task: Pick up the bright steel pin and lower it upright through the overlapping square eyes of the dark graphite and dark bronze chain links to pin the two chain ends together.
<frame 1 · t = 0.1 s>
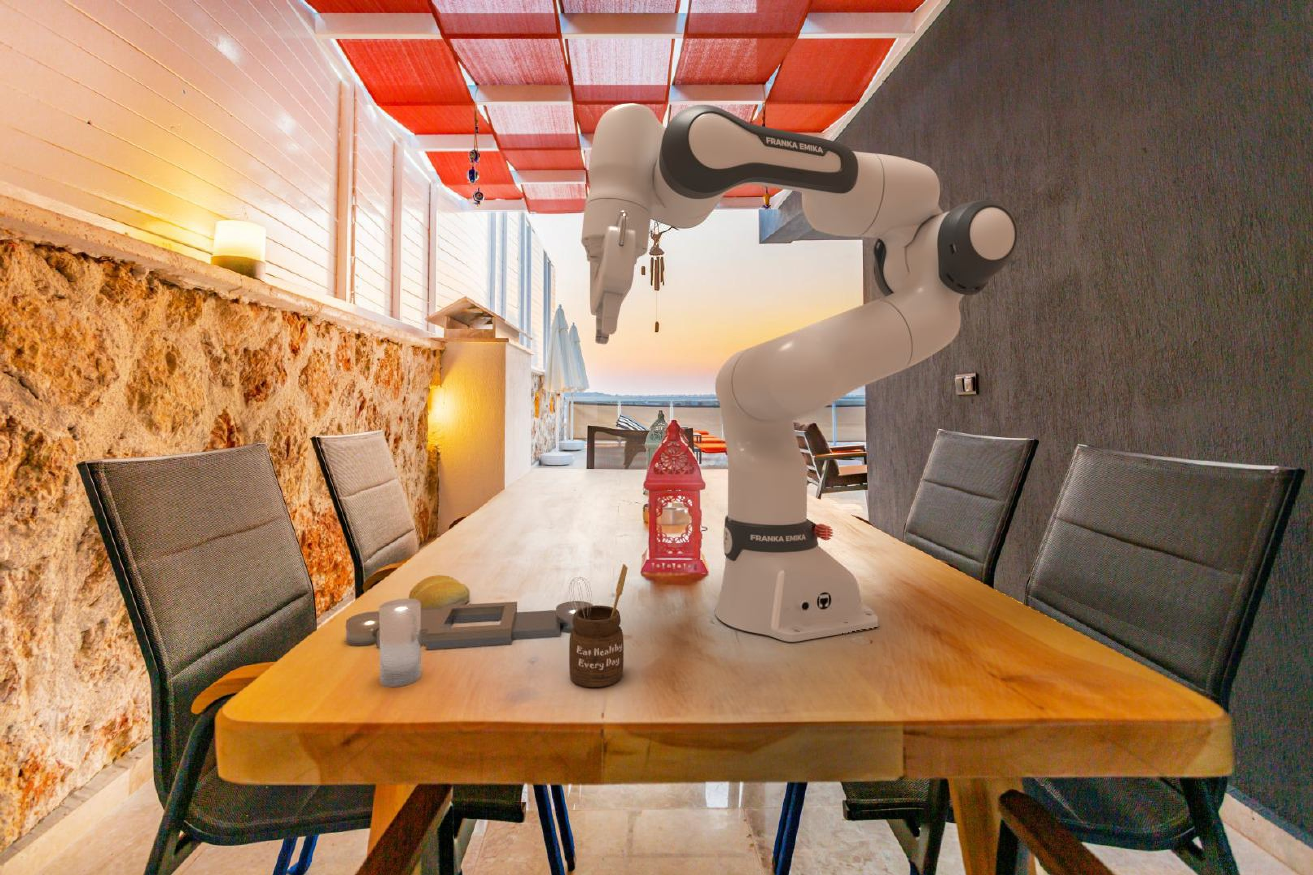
hand: (604, 338, 72), 39 cm above the table, tool pointing down, fingers open, 8 cm apart
bread roll: (439, 605, 82), on the table
lower chain link: (475, 631, 71), on the table
utensil holder: (597, 677, 59), on the table
upper chain link: (475, 631, 71), on the table
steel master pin: (400, 677, 59), on the table
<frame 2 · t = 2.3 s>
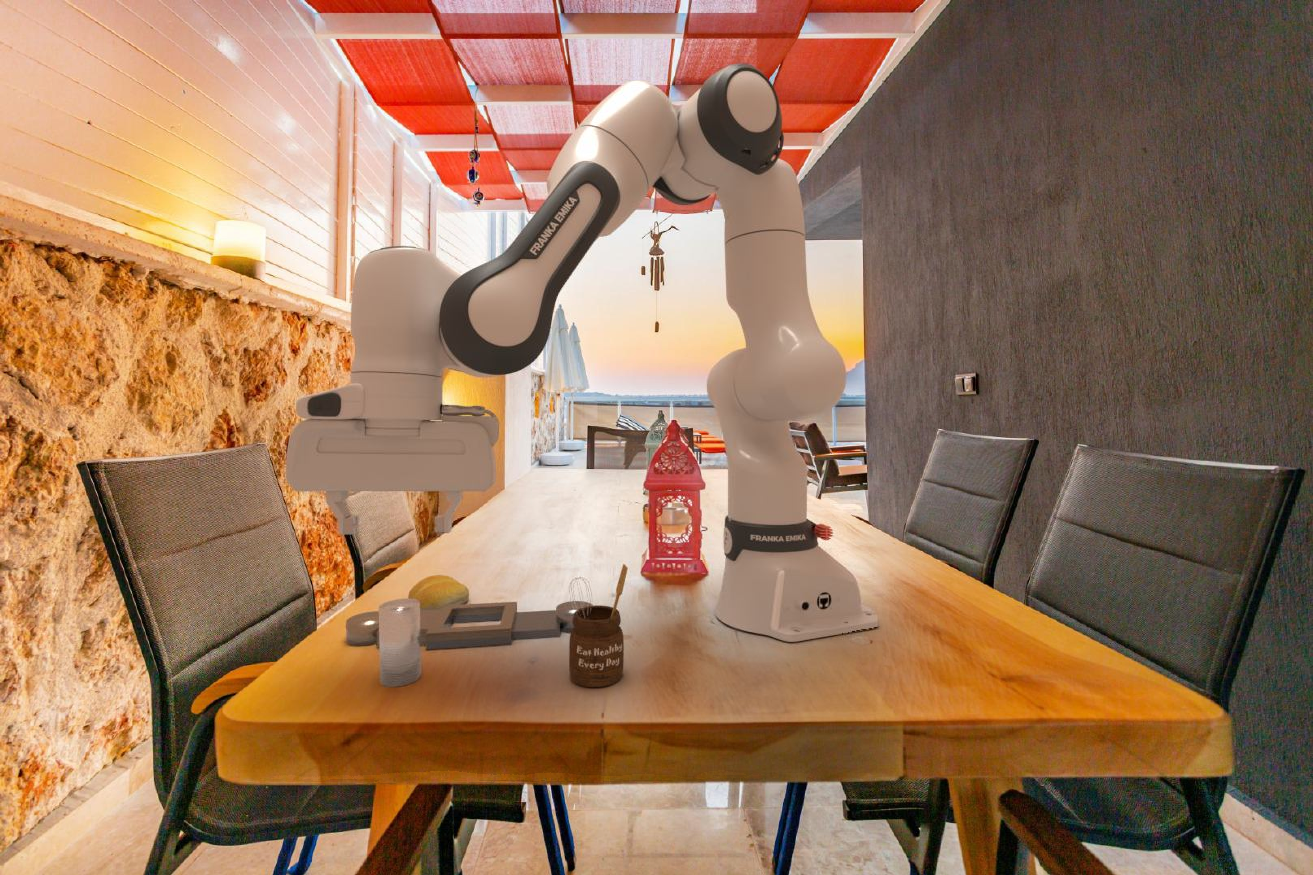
hand: (396, 532, 58), 16 cm above the table, tool pointing down, fingers open, 8 cm apart
nothing on the table moved.
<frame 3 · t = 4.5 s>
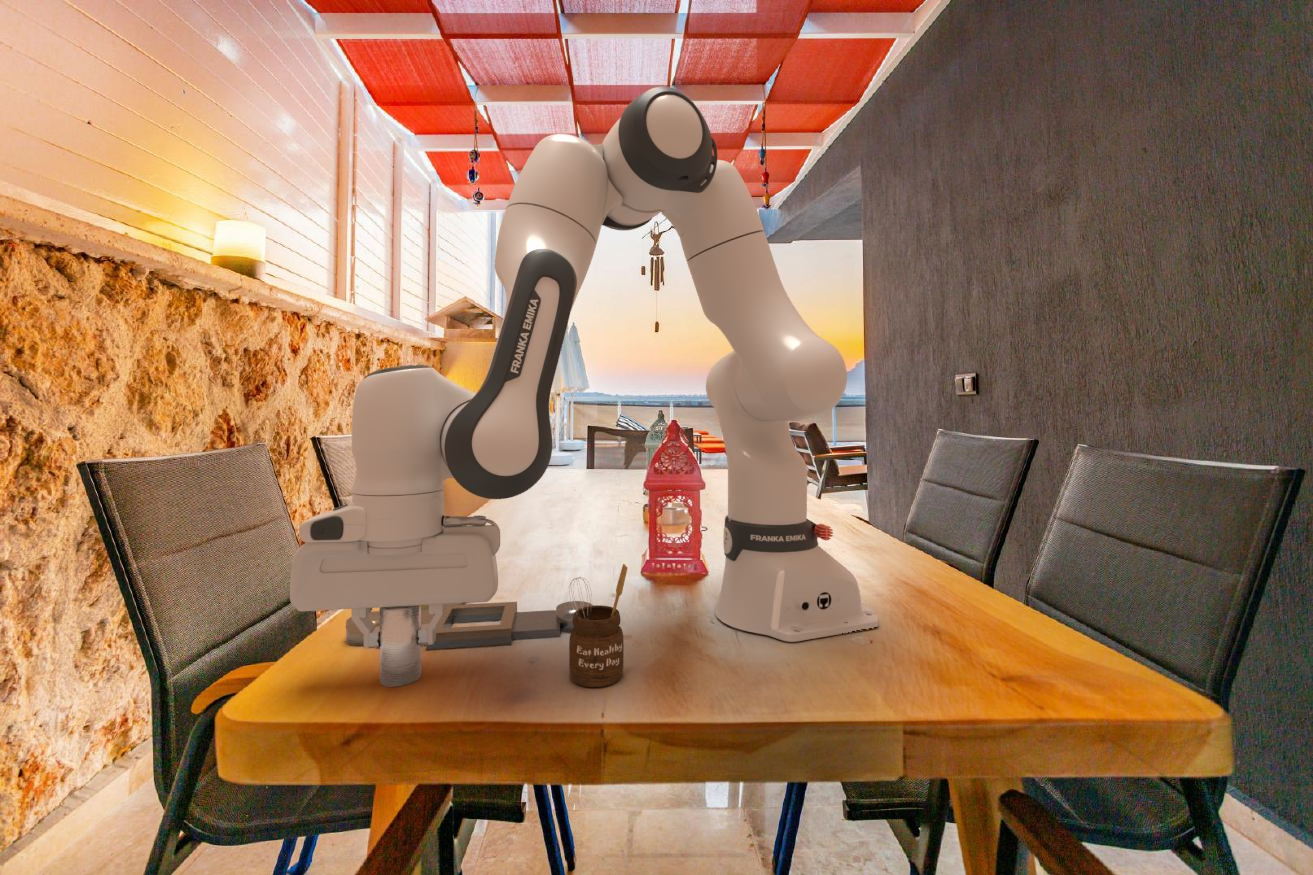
hand: (400, 644, 58), 4 cm above the table, tool pointing down, fingers closed on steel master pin, 4 cm apart
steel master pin: (400, 677, 59), on the table, touching gripper
everything else where it was.
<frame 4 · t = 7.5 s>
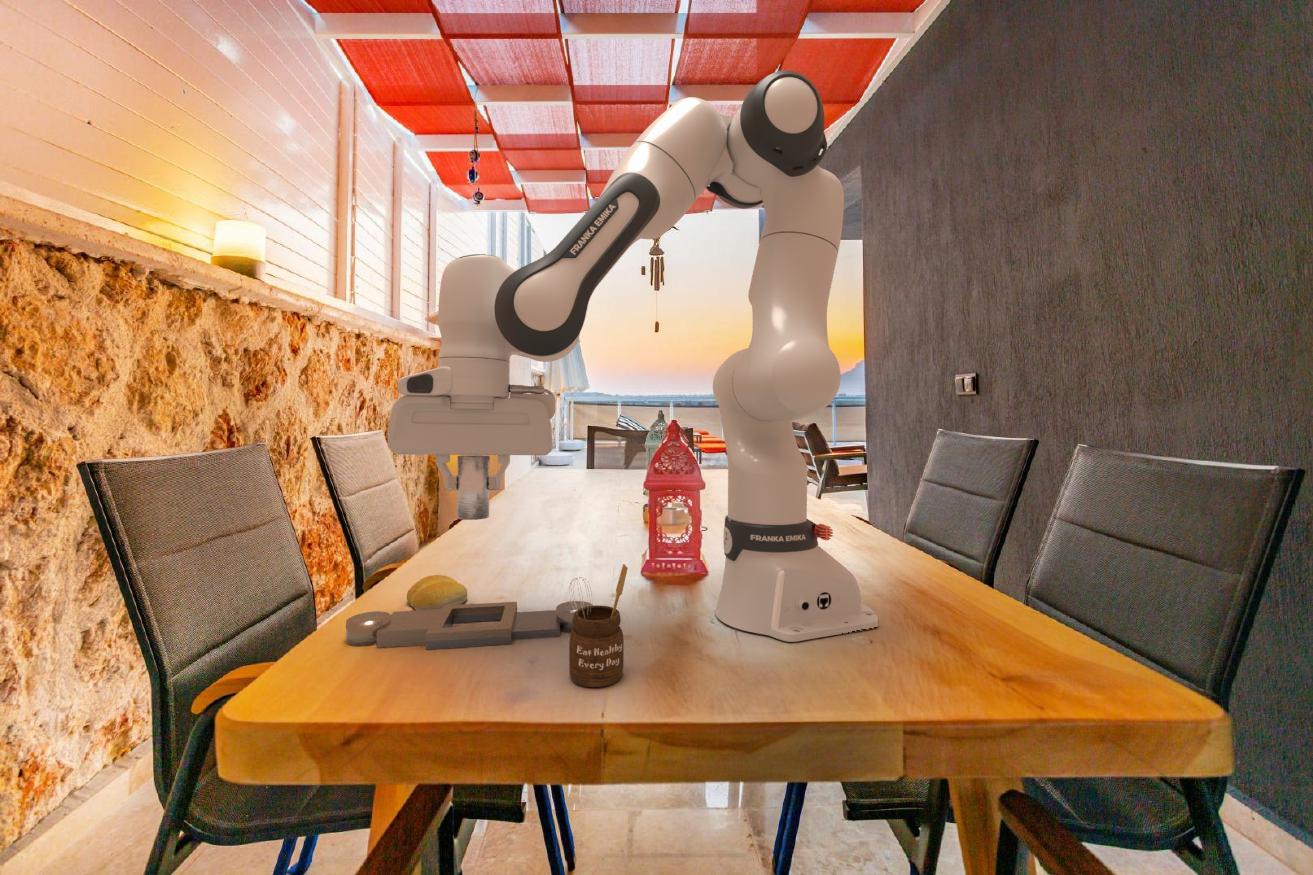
hand: (473, 489, 71), 19 cm above the table, tool pointing down, fingers closed on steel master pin, 4 cm apart
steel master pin: (473, 516, 71), point 15 cm above the table, touching gripper
everything else where it was.
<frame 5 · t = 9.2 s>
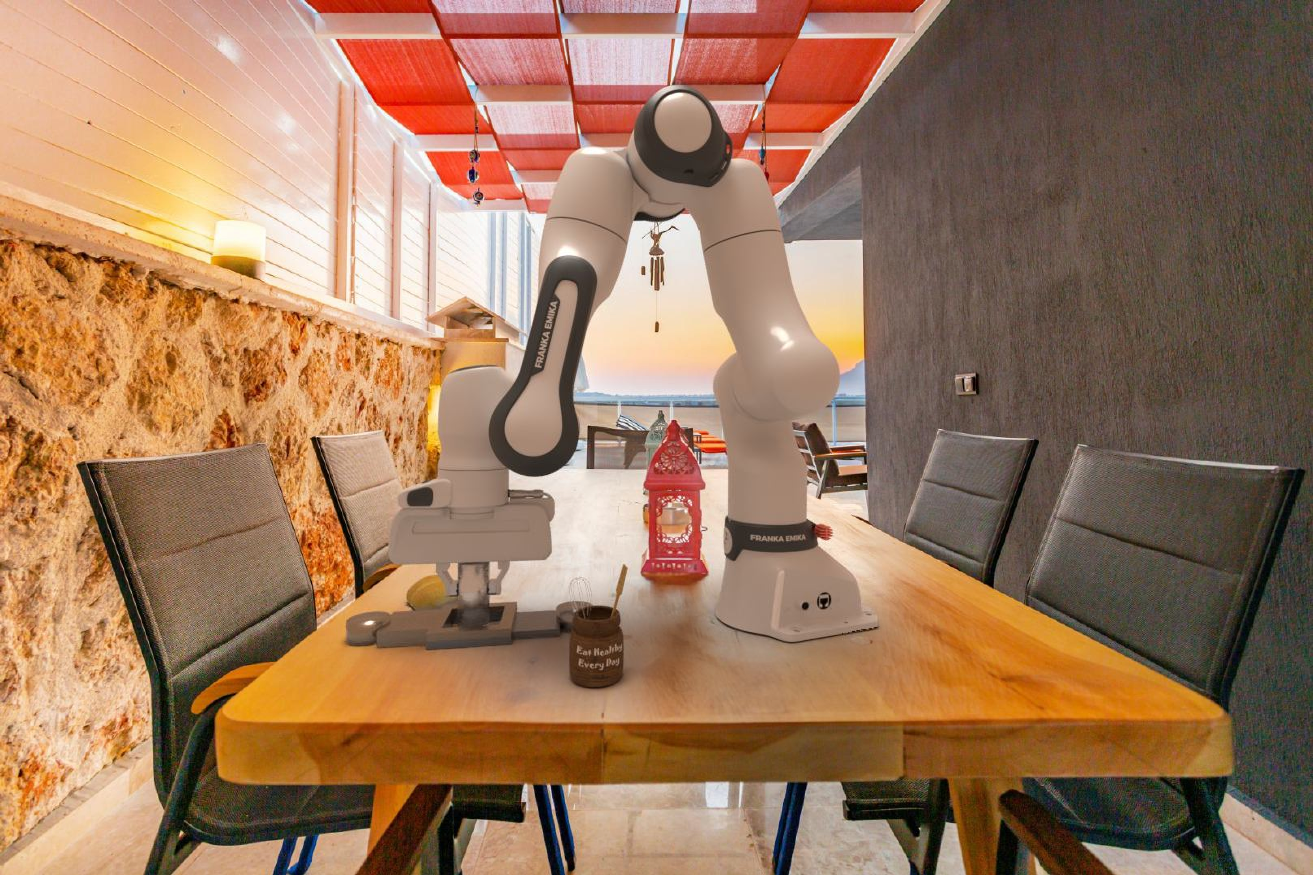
hand: (473, 594, 71), 5 cm above the table, tool pointing down, fingers closed on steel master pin, 4 cm apart
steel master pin: (473, 621, 71), point 1 cm above the table, touching gripper
everything else where it was.
when the fingers open (4 cm above the table, at t = 10.5 s): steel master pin stays where it is, resting in lower chain link.
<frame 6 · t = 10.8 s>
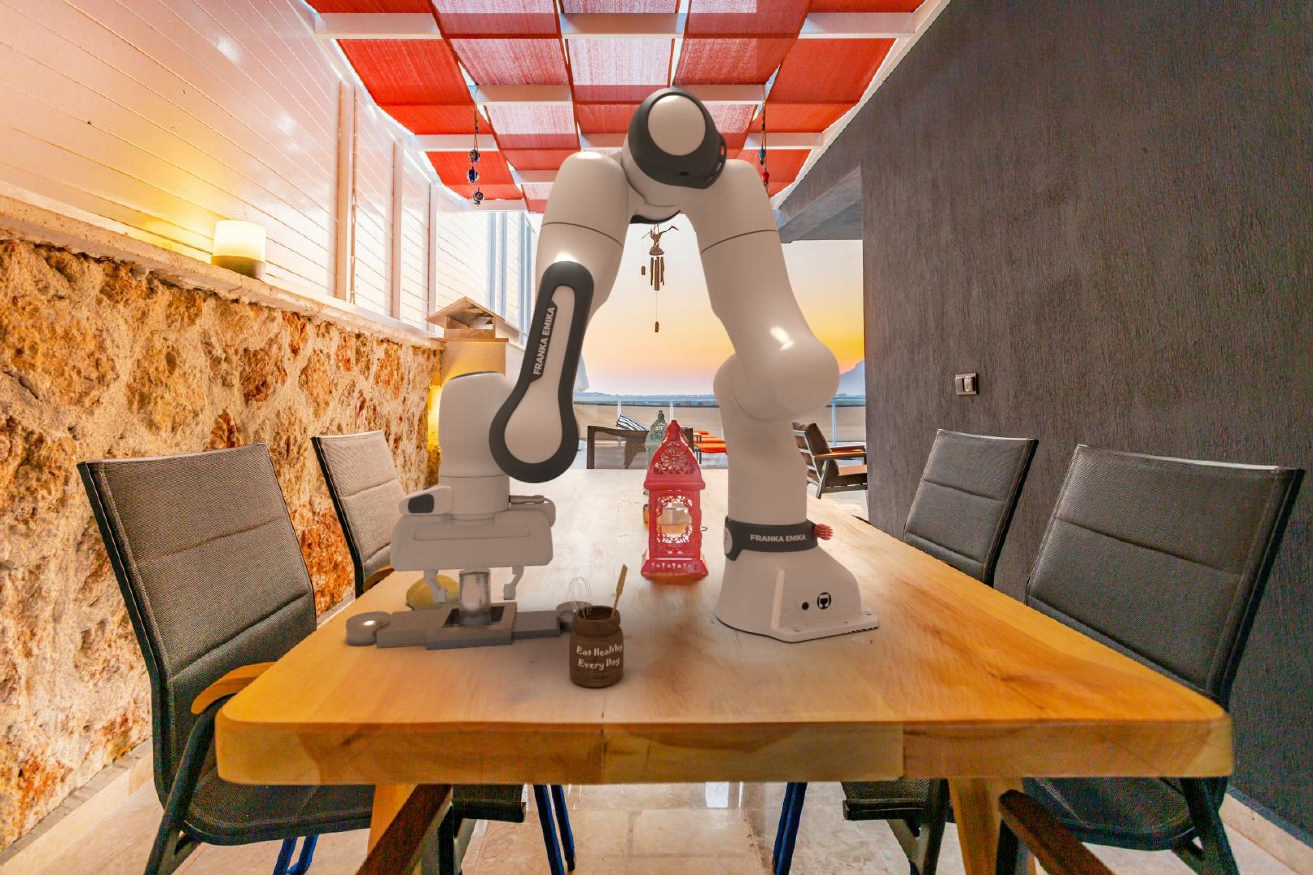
hand: (475, 600, 71), 4 cm above the table, tool pointing down, fingers open, 7 cm apart
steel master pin: (475, 631, 71), resting in lower chain link
everything else where it was.
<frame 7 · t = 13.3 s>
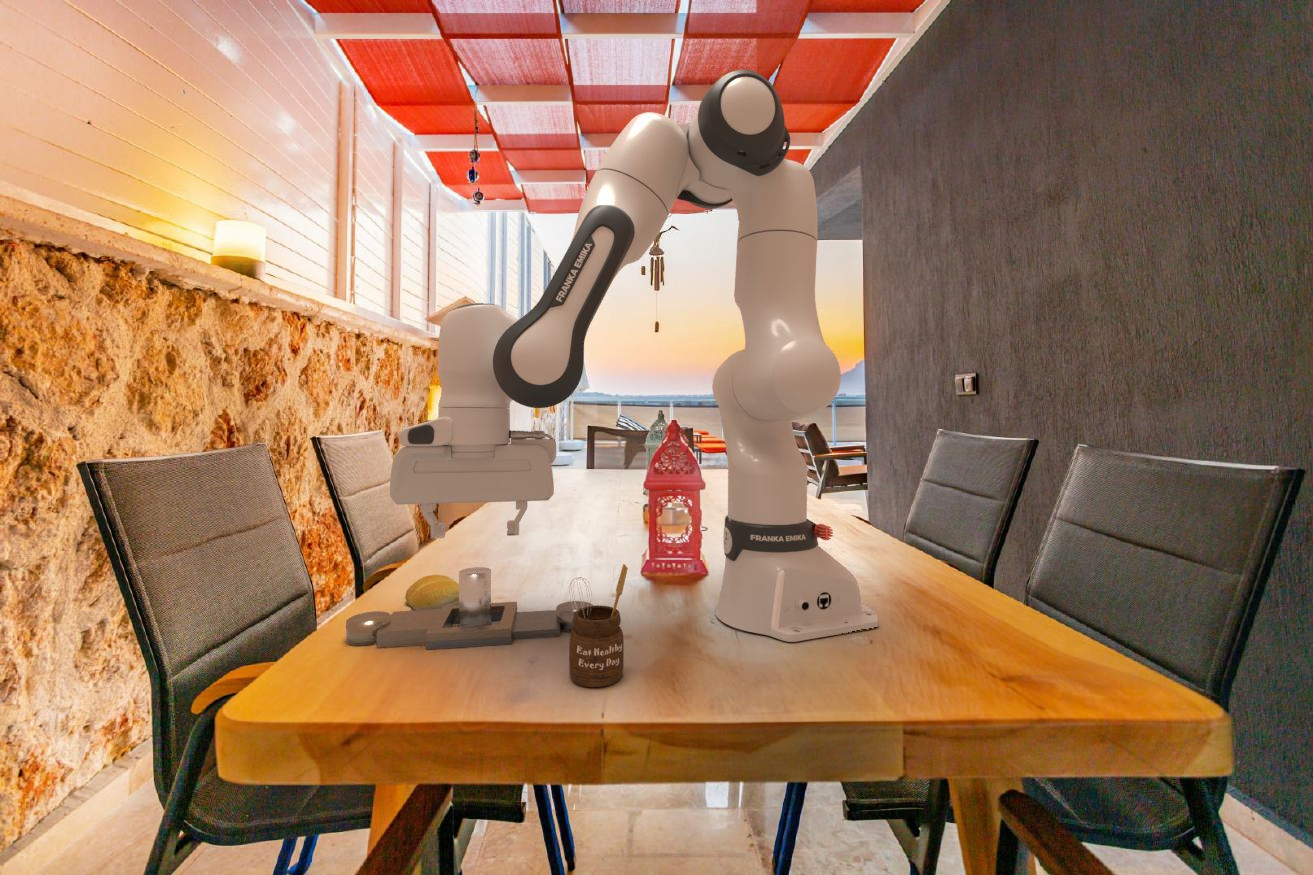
hand: (476, 536, 71), 13 cm above the table, tool pointing down, fingers open, 8 cm apart
nothing on the table moved.
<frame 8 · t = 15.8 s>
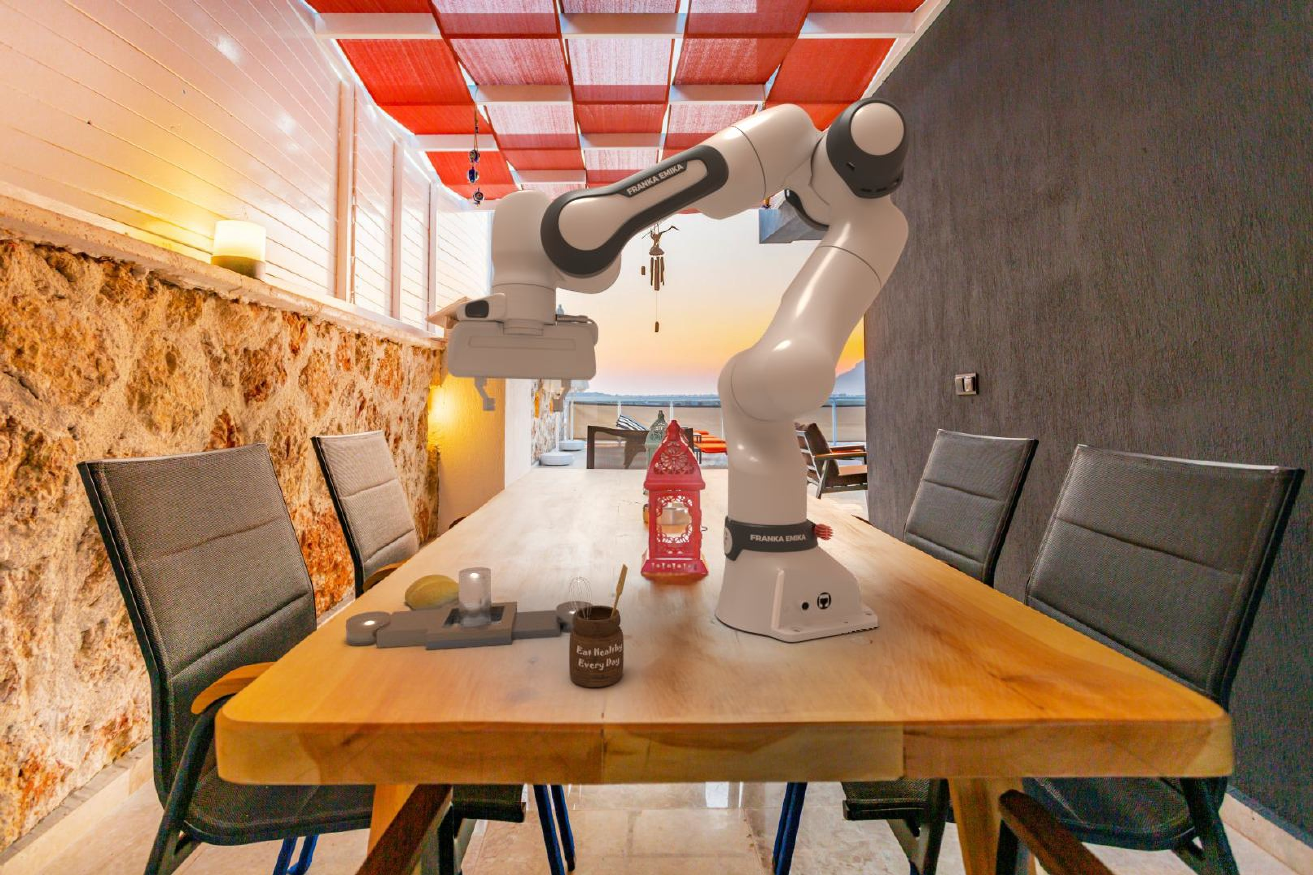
hand: (523, 411, 76), 29 cm above the table, tool pointing down, fingers open, 8 cm apart
nothing on the table moved.
at the end: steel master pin 0.0 cm off-centre on the lower chain link, point 0.0 cm above the lower chain link's base; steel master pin tilted 0°; the gripper is holding nothing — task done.
